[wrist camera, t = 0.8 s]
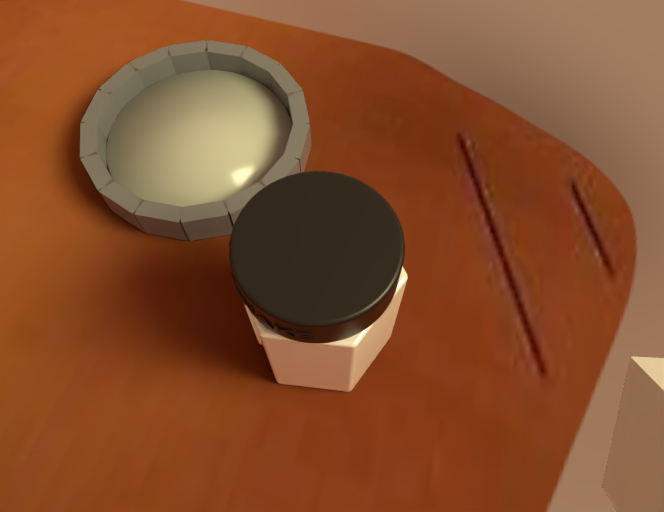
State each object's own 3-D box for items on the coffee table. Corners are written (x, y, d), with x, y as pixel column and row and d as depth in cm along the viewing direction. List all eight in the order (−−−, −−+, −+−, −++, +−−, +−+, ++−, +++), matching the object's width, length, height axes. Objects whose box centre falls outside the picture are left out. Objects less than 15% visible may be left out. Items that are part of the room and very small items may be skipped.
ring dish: (48, 168, 42) (31, 147, 40) (191, 38, 48) (184, 13, 46) (216, 280, 38) (209, 264, 35) (350, 123, 44) (351, 99, 41)
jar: (239, 293, 37) (201, 195, 27) (350, 250, 39) (356, 141, 28) (287, 419, 34) (266, 365, 23) (408, 366, 35) (441, 292, 24)
